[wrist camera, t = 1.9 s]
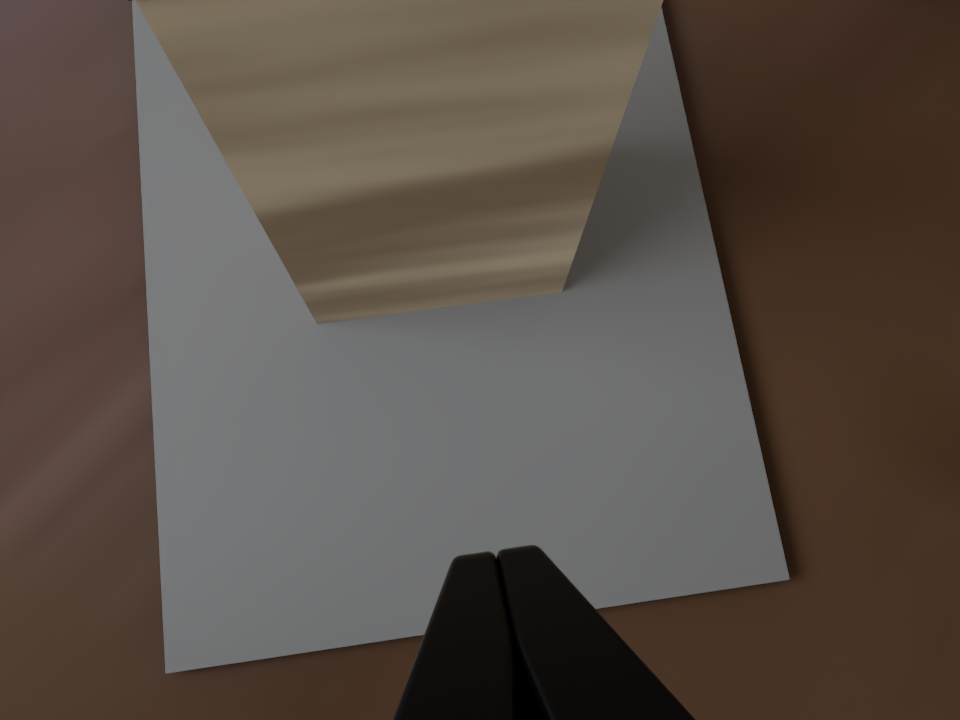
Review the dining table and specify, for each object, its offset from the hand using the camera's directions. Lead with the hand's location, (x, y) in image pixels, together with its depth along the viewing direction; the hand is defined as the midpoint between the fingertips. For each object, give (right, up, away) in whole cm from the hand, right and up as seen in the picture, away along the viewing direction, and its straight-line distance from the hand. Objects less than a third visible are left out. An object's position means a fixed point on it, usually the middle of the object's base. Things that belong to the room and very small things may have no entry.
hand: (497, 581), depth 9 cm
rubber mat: (-2, +9, +14) cm, 17 cm away
